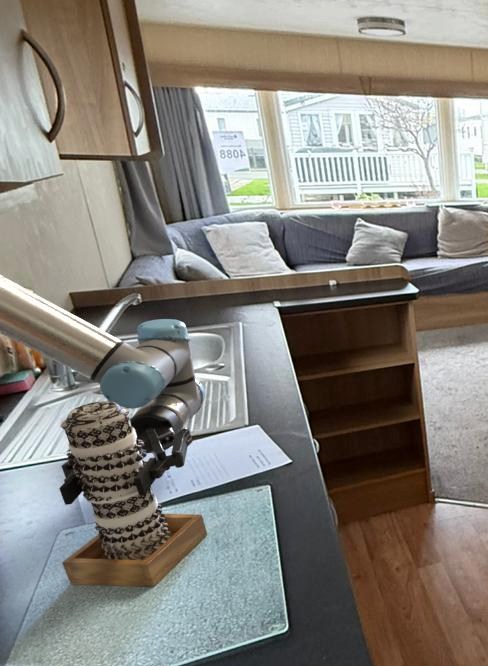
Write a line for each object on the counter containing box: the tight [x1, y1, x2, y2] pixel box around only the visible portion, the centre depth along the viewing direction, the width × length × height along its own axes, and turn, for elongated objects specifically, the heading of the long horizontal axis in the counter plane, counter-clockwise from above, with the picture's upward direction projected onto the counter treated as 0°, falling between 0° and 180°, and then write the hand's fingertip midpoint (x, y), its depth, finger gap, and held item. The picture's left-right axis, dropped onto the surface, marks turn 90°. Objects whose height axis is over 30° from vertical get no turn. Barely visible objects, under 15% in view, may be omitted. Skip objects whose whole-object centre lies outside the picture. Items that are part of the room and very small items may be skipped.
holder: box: [61, 513, 208, 588], centre depth 102 cm, size 13×13×4 cm
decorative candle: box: [59, 400, 171, 560], centre depth 97 cm, size 9×9×25 cm
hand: (102, 491), depth 93 cm, fingers closed on decorative candle, 8 cm apart
